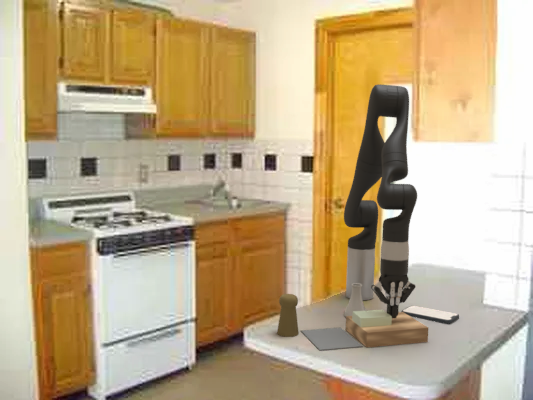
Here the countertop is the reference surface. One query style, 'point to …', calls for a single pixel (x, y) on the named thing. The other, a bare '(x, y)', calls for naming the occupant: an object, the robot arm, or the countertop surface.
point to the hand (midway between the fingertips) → (392, 317)
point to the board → (389, 332)
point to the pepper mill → (288, 316)
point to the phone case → (431, 314)
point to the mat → (331, 339)
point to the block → (371, 318)
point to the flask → (355, 300)
